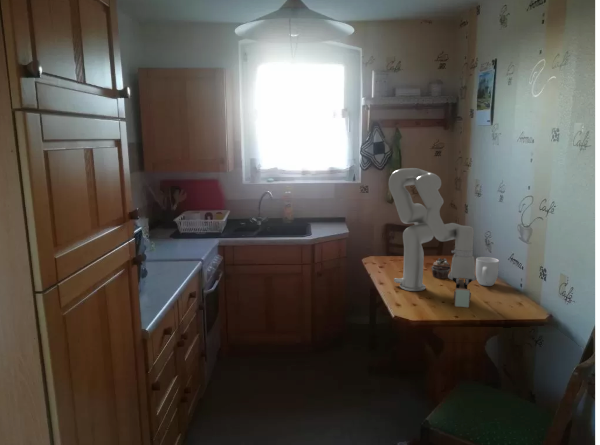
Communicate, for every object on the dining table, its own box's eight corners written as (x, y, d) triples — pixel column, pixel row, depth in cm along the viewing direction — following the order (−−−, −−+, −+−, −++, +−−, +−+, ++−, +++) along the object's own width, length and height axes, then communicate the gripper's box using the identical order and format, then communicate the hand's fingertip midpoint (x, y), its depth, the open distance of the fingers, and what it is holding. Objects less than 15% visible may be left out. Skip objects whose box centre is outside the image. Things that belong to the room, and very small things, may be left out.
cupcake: (445, 273, 261) (446, 256, 259) (452, 278, 252) (453, 260, 250) (428, 273, 261) (429, 256, 259) (434, 279, 251) (435, 260, 249)
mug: (494, 291, 231) (496, 265, 229) (471, 287, 237) (472, 262, 234) (498, 283, 244) (500, 258, 242) (476, 279, 249) (478, 255, 247)
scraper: (453, 299, 212) (454, 291, 211) (452, 287, 223) (453, 278, 222) (470, 301, 211) (471, 292, 209) (467, 288, 222) (468, 279, 220)
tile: (454, 306, 210) (455, 289, 209) (454, 305, 212) (455, 288, 210) (468, 307, 209) (470, 290, 207) (468, 306, 210) (469, 289, 209)
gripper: (445, 254, 212) (443, 293, 215) (483, 256, 208) (480, 296, 211) (444, 250, 219) (442, 288, 222) (481, 252, 215) (478, 291, 218)
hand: (461, 291), depth 216 cm, fingers closed on scraper, 2 cm apart
